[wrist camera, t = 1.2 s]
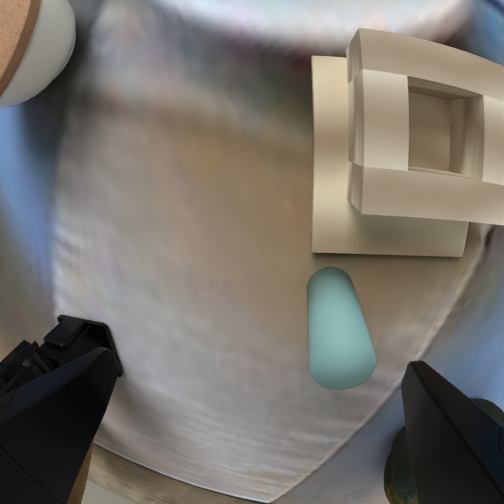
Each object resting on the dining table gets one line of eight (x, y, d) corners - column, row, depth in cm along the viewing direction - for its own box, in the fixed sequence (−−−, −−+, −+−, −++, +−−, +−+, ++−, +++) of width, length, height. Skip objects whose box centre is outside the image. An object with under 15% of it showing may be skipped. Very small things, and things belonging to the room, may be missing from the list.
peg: (349, 308, 21) (368, 388, 13) (305, 307, 21) (306, 389, 14) (354, 267, 19) (382, 340, 12) (308, 266, 20) (313, 340, 12)
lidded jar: (122, 19, 15) (37, -20, 6) (50, 132, 19) (-42, 146, 10) (60, -15, 13) (-10, -39, 5) (3, 79, 17) (-70, 82, 8)
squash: (408, 426, 18) (399, 567, 11) (538, 376, 15) (531, 507, 8) (372, 416, 30) (373, 518, 23) (474, 389, 28) (474, 485, 21)
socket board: (456, 251, 18) (490, 282, 13) (310, 246, 19) (315, 281, 15) (466, 78, 13) (507, 68, 9) (310, 53, 15) (316, 24, 10)
